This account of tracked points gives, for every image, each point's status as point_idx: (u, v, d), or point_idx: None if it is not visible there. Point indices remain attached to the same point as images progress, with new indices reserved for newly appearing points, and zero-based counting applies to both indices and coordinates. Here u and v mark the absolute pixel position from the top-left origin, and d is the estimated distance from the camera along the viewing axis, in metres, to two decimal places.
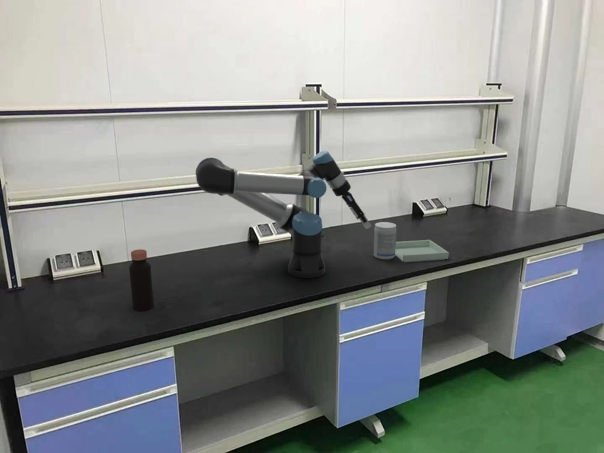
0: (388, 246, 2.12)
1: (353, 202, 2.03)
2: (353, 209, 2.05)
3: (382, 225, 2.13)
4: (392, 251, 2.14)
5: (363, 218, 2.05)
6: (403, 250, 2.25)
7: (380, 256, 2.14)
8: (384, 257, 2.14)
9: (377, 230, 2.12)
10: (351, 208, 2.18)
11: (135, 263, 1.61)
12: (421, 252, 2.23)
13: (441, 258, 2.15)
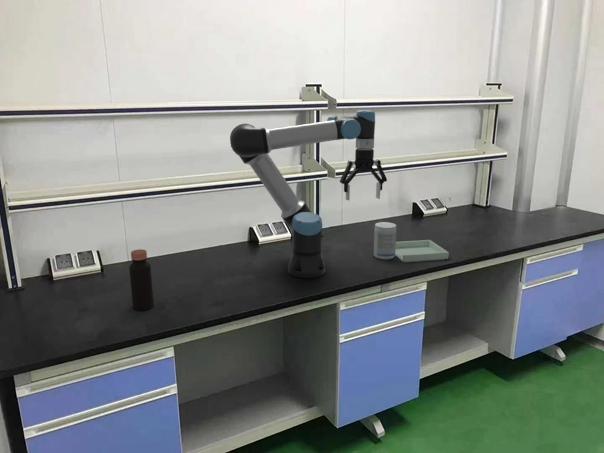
0: (388, 246, 2.12)
1: (347, 167, 2.03)
2: None
3: (382, 225, 2.13)
4: (392, 251, 2.14)
5: (344, 187, 2.05)
6: (403, 250, 2.25)
7: (380, 256, 2.14)
8: (384, 257, 2.14)
9: (377, 230, 2.12)
10: (376, 183, 2.09)
11: (135, 263, 1.61)
12: (421, 252, 2.23)
13: (441, 258, 2.15)
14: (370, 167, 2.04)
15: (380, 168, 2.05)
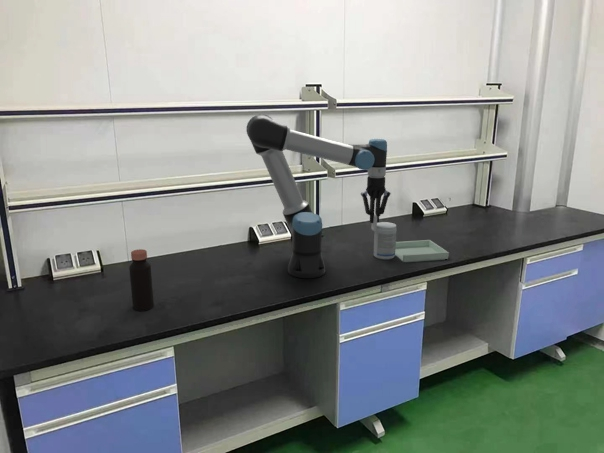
0: (388, 246, 2.12)
1: (364, 200, 2.08)
2: (370, 205, 2.11)
3: (382, 225, 2.13)
4: (392, 251, 2.14)
5: (370, 217, 2.12)
6: (403, 250, 2.25)
7: (380, 256, 2.14)
8: (384, 257, 2.14)
9: (377, 230, 2.12)
10: None
11: (135, 263, 1.61)
12: (421, 252, 2.23)
13: (441, 258, 2.15)
14: (379, 195, 2.08)
15: (385, 199, 2.10)
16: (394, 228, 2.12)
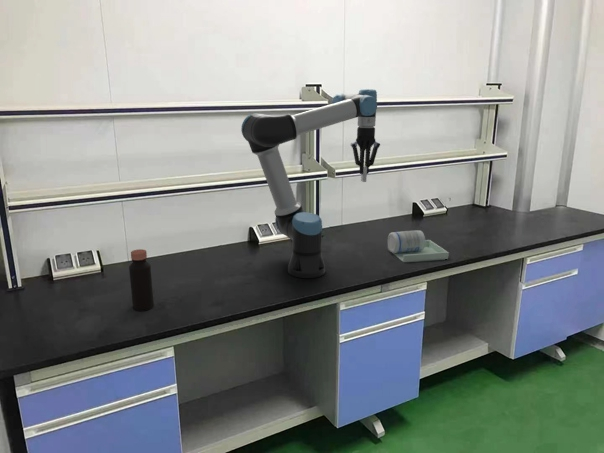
0: (408, 238, 2.18)
1: (354, 150, 2.11)
2: None
3: None
4: (403, 243, 2.17)
5: (360, 169, 2.14)
6: None
7: (396, 233, 2.19)
8: (396, 236, 2.17)
9: (416, 230, 2.24)
10: None
11: (135, 263, 1.61)
12: (421, 252, 2.23)
13: (441, 258, 2.15)
14: (369, 146, 2.10)
15: (375, 150, 2.12)
16: (424, 243, 2.20)
